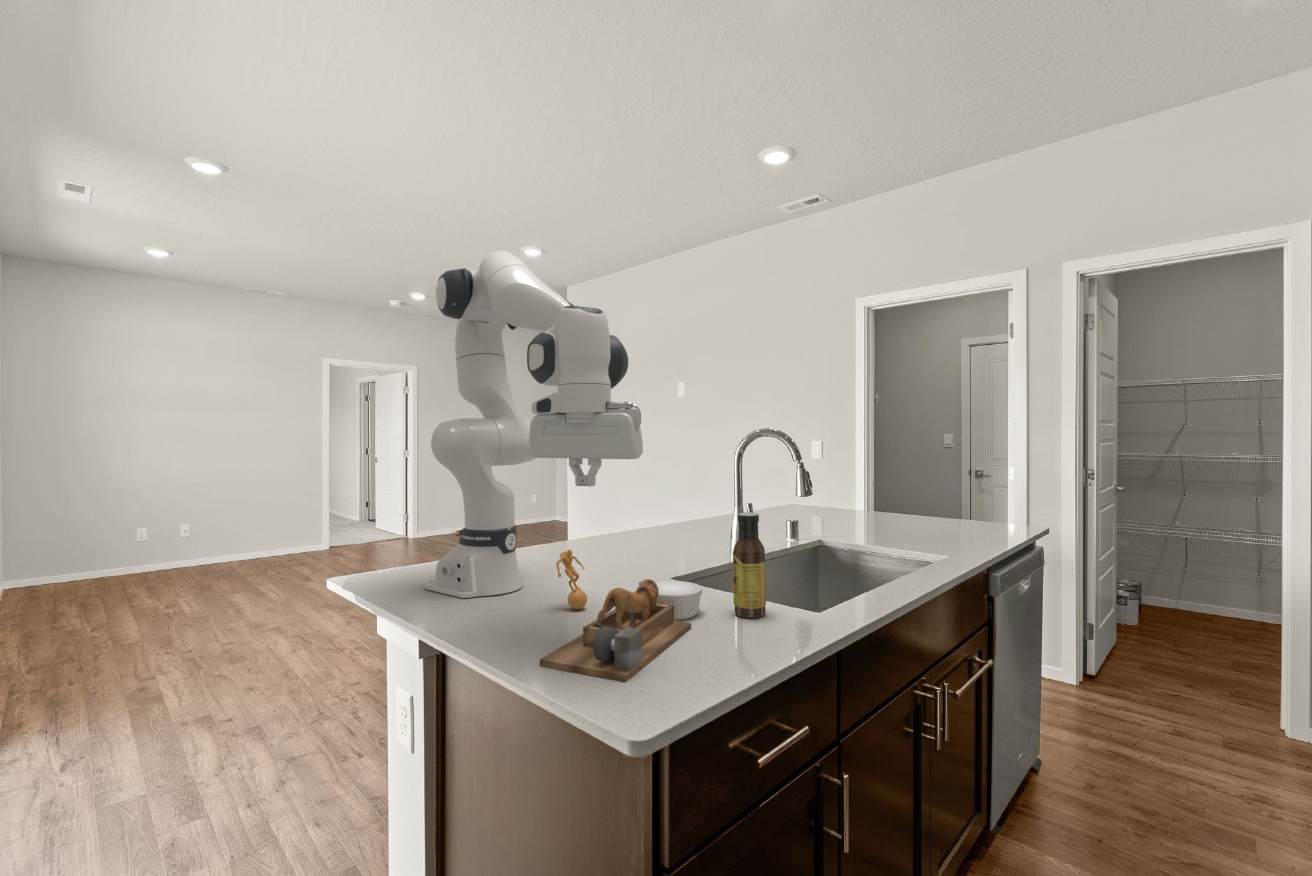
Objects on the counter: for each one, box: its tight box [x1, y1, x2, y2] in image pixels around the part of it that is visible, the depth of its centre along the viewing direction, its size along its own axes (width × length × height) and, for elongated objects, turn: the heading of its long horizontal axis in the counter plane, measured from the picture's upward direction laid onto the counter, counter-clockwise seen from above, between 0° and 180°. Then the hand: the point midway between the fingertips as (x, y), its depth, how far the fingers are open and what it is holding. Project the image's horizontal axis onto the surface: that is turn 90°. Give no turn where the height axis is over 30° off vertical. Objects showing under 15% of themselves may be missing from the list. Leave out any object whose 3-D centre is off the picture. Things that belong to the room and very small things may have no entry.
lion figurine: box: [596, 578, 659, 630], centre depth 108 cm, size 15×5×9 cm, turn 147°
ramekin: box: [655, 580, 703, 621], centre depth 123 cm, size 11×11×5 cm
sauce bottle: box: [732, 511, 767, 619], centre depth 121 cm, size 6×6×20 cm
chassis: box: [539, 604, 692, 683], centre depth 105 cm, size 15×26×6 cm, turn 155°
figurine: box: [555, 549, 588, 611], centre depth 127 cm, size 8×6×12 cm
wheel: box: [593, 626, 619, 662], centre depth 95 cm, size 3×5×5 cm
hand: (585, 485), depth 104 cm, fingers closed
